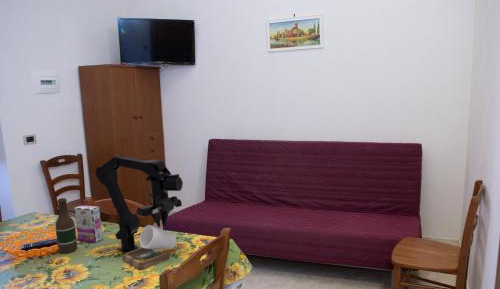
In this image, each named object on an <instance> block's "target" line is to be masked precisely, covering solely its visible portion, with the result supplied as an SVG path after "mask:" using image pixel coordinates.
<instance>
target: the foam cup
mask: <svg viewBox="0 0 500 289" xmlns="http://www.w3.org/2000/svg"><path fill="white" fill-rule="evenodd" d="M176 243H177V237H176V235H175V234H172V233H171V232H168V231H166V230H164V229H162V228H160V227H158V226H155V225H152V224H147V225H145V227H144V228H143V229H142V230H141V232H140V235H139V244H140V248H141V247H142V248H145V249H152V250H154V249H155V250H172V249H173V248H174V247H175V246H176Z"/></svg>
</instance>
